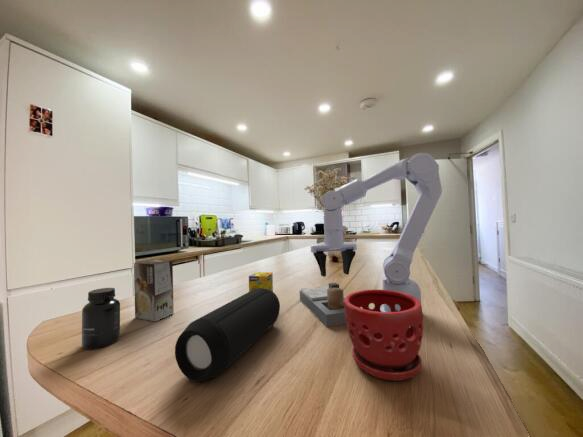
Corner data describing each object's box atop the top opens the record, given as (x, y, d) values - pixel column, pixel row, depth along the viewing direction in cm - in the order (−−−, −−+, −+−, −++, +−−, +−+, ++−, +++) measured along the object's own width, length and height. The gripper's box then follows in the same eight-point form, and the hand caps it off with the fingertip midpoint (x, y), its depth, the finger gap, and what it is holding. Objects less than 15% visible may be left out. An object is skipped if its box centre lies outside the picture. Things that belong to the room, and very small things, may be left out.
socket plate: (327, 296, 82) (327, 287, 82) (363, 321, 61) (363, 309, 61) (299, 299, 80) (299, 290, 80) (326, 326, 58) (326, 314, 58)
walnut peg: (337, 311, 68) (336, 286, 68) (347, 316, 64) (346, 290, 64) (324, 314, 66) (324, 289, 66) (334, 319, 62) (333, 293, 62)
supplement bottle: (76, 354, 49) (76, 296, 49) (87, 340, 55) (86, 289, 55) (117, 345, 52) (116, 291, 52) (122, 333, 58) (122, 284, 58)
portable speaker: (250, 321, 63) (249, 284, 64) (283, 325, 60) (282, 286, 60) (171, 380, 40) (170, 321, 40) (218, 394, 36) (217, 329, 36)
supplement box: (268, 313, 68) (267, 276, 68) (248, 312, 69) (248, 275, 69) (273, 306, 73) (273, 272, 74) (255, 305, 75) (255, 271, 75)
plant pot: (368, 339, 51) (366, 284, 52) (435, 364, 42) (432, 297, 42) (332, 364, 42) (329, 298, 43) (406, 404, 33) (403, 318, 33)
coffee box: (175, 313, 70) (174, 260, 70) (155, 322, 64) (154, 263, 64) (153, 310, 73) (152, 259, 74) (133, 318, 67) (132, 262, 68)
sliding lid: (327, 288, 82) (327, 277, 82) (342, 296, 71) (341, 284, 71) (300, 291, 79) (300, 279, 79) (311, 300, 69) (311, 287, 69)
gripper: (348, 229, 78) (349, 270, 77) (307, 231, 74) (308, 274, 73) (359, 230, 71) (361, 274, 70) (315, 231, 67) (316, 279, 67)
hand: (334, 274), depth 71 cm, fingers open, 7 cm apart
